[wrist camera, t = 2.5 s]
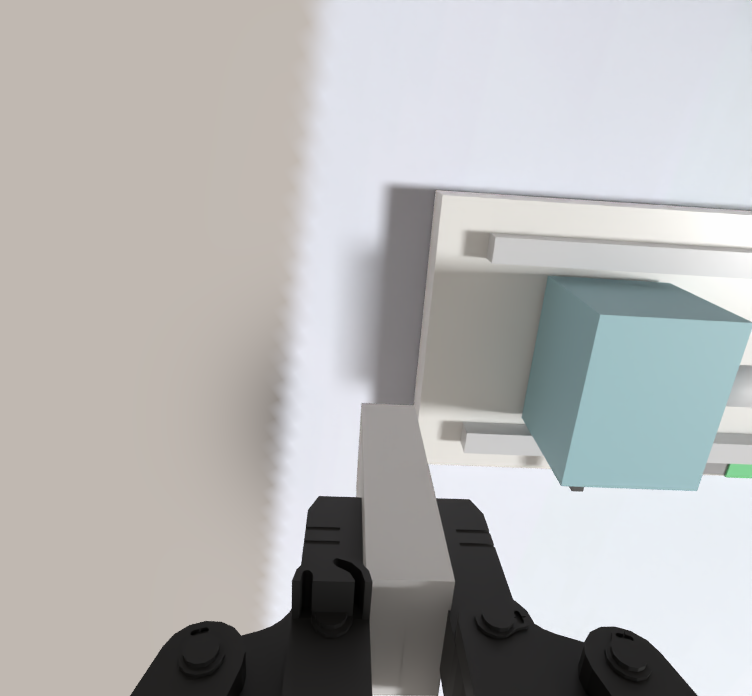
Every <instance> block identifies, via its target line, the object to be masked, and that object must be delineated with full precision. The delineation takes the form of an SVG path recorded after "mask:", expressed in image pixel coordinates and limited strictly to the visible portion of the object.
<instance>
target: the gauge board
mask: <svg viewBox="0 0 752 696" xmlns="http://www.w3.org/2000/svg"><path fill="white" fill-rule="evenodd" d="M548 276H561V277H578V278H595V279H612V280H629V281H646V282H664V283H671V284H673V285H675V286H677V287H679V288H681V289H683V290H686V291H688V292H690V293H692V294H694V295H696V296H698V297H700V298H702V299H704V300H707V301H709V302H711V303H713V304H715V305H717V306H719V307H721V308H723V309H726V310H728V311H730V312H732V313H734V314H736V315H738V316H740V317H742V318H744V319H747V320H749V321H751V322H752V211H745V210H730V209H715V208H699V207H684V206H669V205H654V204H639V203H624V202H609V201H594V200H579V199H563V198H548V197H533V196H518V195H503V194H488V193H473V192H458V191H443V190H436V191H435V201H434V210H433V220H432V230H431V240H430V249H429V259H428V269H427V279H426V288H425V298H424V308H423V318H422V327H421V337H420V347H419V356H418V366H417V376H416V386H415V395H414V405H415V409H416V414H417V418H418V422H419V427H420V431H421V435H422V440H423V444H424V448H425V453H426V457H427V462H428V464H434V465H460V466H486V467H511V468H537V469H551V468H550V466H549V464H548V462H547V461H546V459H545V457H544V455H543V454H542V452H541V450H540V449H539V447H538V445H537V443H536V442H535V440H534V438H533V436H532V435H531V433H530V431H529V430H528V428H527V426H526V424H525V423H524V421H523V419H522V412H523V407H524V401H525V396H526V391H527V385H528V380H529V375H530V369H531V364H532V358H533V353H534V348H535V342H536V337H537V332H538V326H539V321H540V316H541V310H542V305H543V299H544V294H545V289H546V283H547V278H548ZM740 365H752V330H751V333H750V336H749V339H748V342H747V345H746V348H745V351H744V354H743V357H742V360H741V363H740ZM703 475H719V476H725V477H732V478H752V408H751V407H729V406H726V407H725V410H724V413H723V416H722V419H721V422H720V425H719V428H718V431H717V434H716V436H715V439H714V442H713V445H712V448H711V451H710V454H709V457H708V460H707V463H706V466H705V469H704V472H703Z"/></svg>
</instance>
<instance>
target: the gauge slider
mask: <svg viewBox="0 0 752 696" xmlns="http://www.w3.org/2000/svg"><path fill="white" fill-rule="evenodd" d="M751 330H752V322H751V321H749V320H747V319H744V318H742V317H740V316H738V315H736V314H734V313H732V312H730V311H728V310H726V309H723V308H721V307H719V306H717V305H715V304H713V303H711V302H709V301H707V300H704V299H702V298H700V297H698V296H696V295H694V294H692V293H690V292H688V291H686V290H683V289H681V288H679V287H677V286H675V285H673V284H671V283H664V282H646V281H629V280H612V279H595V278H578V277H561V276H548V278H547V283H546V289H545V294H544V299H543V305H542V310H541V316H540V321H539V326H538V332H537V337H536V342H535V348H534V353H533V358H532V364H531V369H530V375H529V380H528V385H527V391H526V396H525V401H524V407H523V412H522V419H523V421H524V423H525V424H526V426H527V428H528V430H529V431H530V433H531V435H532V436H533V438H534V440H535V442H536V443H537V445H538V447H539V449H540V450H541V452H542V454H543V455H544V457H545V459H546V461H547V462H548V464H549V466H550V468H551V469H552V471H553V473H554V474H555V476H556V478H557V480H558V481H559V483H560V485H561V486H569V487H570V489H571V491H583V489H584V487H602V488H630V489H657V490H684V491H697V490H698V487H699V484H700V481H701V478H702V475H703V472H704V469H705V466H706V463H707V460H708V457H709V454H710V451H711V448H712V445H713V442H714V439H715V436H716V434H717V431H718V428H719V425H720V422H721V419H722V416H723V413H724V410H725V407H726V406H729V407H751V408H752V365H740V363H741V360H742V357H743V354H744V351H745V348H746V345H747V342H748V339H749V336H750V333H751Z"/></svg>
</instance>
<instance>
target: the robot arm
mask: <svg viewBox="0 0 752 696" xmlns="http://www.w3.org/2000/svg"><path fill="white" fill-rule="evenodd" d="M440 679H441V682H442V688H443V694H444V696H697V695H696V693H695V692H694V691H693V690H692V689H691V688H690V686H689V685H688V684H687V683H686V682H685V681H684V679H683V678H682V677H681V676H680V675H679V674H678V672H677V671H676V670H675V669H674V668H673V667H672V666H671V664H670V663H669V662H668V661H667V660H666V659H665V657H664V656H663V655H662V654H661V653H660V652H659V651H658V650H657V649H656V648H655V647H654V646H653V645H652V644H650V643H649V642H648V641H647V640H646V639H644V638H642V637H640V636H638V635H637V634H635V633H633V632H631V631H628V630H625V629H621V628H618V627H600V628H598V629H595V630H593V631H591V632H590V633H589V635H588V637H587V638H586V640H585V642H581V641H578V640H574V639H571V638H568V637H564V636H561V635H557V634H554V633H552V632H549V631H547V630H544V629H542V628H541V627H539V626H537V625H536V624H534V622H533V620H532V619H531V617H530V615H529V614H528V612H527V611H526V610H525V609H524V608H523V607H522V606H520V605H519V604H518V603H517V602H516V601H514V600H513V598H512V595H511V593H510V590H509V587H508V584H507V581H506V578H505V575H504V572H503V570H502V567H501V564H500V561H499V558H498V555H497V552H496V549H495V547H494V544H493V541H492V538H491V535H490V534H489V529H488V526H487V523H486V521H485V518H484V515H483V513H482V512H481V511H480V510H479V509H478V508H477V507H476V506H475V505H474V504H473V503H472V502H471V501H470V500H469V499H438V498H436V496H435V492H434V488H433V483H432V479H431V475H430V470H429V466H428V462H427V457H426V453H425V448H424V444H423V440H422V435H421V431H420V427H419V422H418V418H417V414H416V409H415V405H398V404H375V403H362V404H361V420H360V436H359V452H358V468H357V484H356V497H329V496H319V497H318V498H317V499H316V501H315V502H314V503H313V504H312V506H311V507H310V508H309V510H308V515H307V523H306V531H305V538H304V546H303V554H302V562H301V566H300V567H299V568H298V569H297V570H296V572H295V575H294V577H293V580H292V609H291V611H290V612H289V613H288V614H287V615H286V616H285V617H284V618H283V619H282V620H281V621H279V622H278V623H276V624H274V625H273V626H271V627H268V628H266V629H263V630H260V631H257V632H253V633H250V634H246V635H242V636H241V635H240V634H239V633H238V631H237V630H236V629H235V628H234V627H232V626H230V625H227V624H225V623H222V622H214V621H204V622H200V623H196V624H192V625H189V626H187V627H186V628H184V629H182V630H181V631H179V632H178V633H175V634H174V635H173V636H172V637H171V638H170V639H169V641H168V642H167V643H166V644H165V645H164V646H163V647H162V649H161V650H160V652H159V653H158V655H157V656H156V658H155V659H154V661H153V662H152V664H151V665H150V667H149V668H148V670H147V671H146V673H145V674H144V676H143V677H142V679H141V680H140V682H139V683H138V685H137V686H136V688H135V689H134V691H133V692H132V694H131V695H130V696H372V695H400V696H438V692H439V686H440Z"/></svg>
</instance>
